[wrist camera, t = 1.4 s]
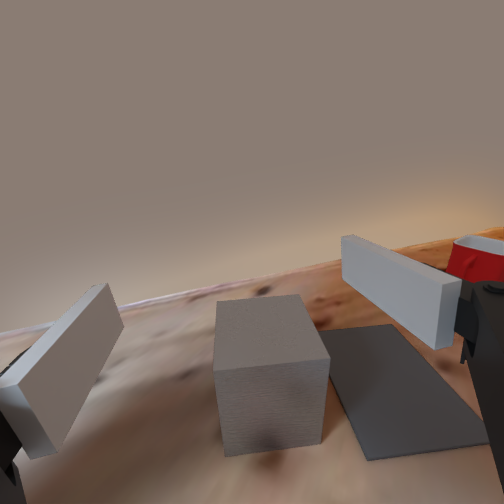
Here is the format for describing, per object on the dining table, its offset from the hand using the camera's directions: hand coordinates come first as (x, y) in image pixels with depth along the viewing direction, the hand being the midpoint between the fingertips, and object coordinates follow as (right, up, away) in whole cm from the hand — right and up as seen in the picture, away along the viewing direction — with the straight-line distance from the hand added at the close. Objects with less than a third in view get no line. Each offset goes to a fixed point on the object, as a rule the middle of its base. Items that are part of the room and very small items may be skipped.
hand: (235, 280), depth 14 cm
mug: (+43, -7, +35) cm, 56 cm away
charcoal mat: (+18, -15, +19) cm, 30 cm away
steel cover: (+3, -17, +16) cm, 23 cm away
